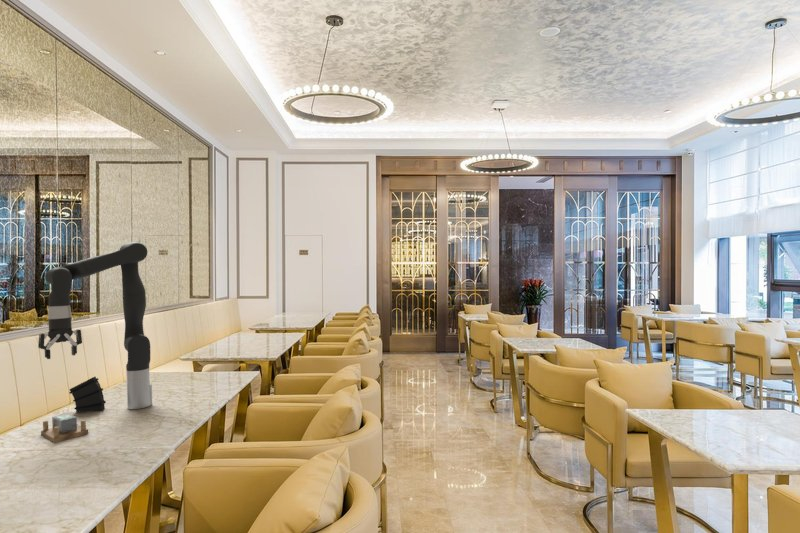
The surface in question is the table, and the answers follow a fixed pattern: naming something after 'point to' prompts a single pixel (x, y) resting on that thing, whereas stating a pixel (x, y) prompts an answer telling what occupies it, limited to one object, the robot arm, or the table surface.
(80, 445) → the table surface
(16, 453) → the table surface
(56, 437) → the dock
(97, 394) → the black ribbed wedge
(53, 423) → the grey rectangular block
